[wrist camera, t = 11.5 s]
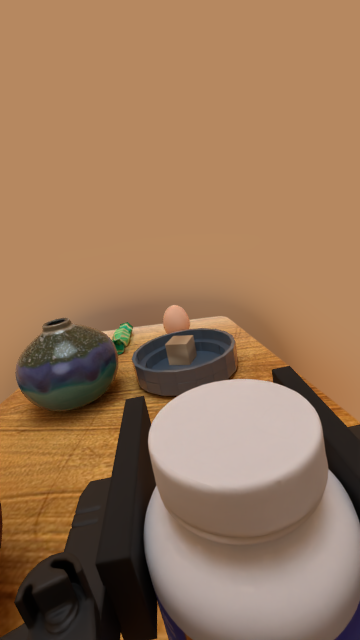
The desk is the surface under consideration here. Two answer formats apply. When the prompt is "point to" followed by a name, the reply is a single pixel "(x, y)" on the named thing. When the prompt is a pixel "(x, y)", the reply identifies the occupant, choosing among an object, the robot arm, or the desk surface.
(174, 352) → the block
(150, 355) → the bowl
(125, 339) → the candy
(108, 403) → the desk surface
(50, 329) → the vase
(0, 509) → the bowl
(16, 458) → the desk surface
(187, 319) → the egg
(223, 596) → the pill bottle
